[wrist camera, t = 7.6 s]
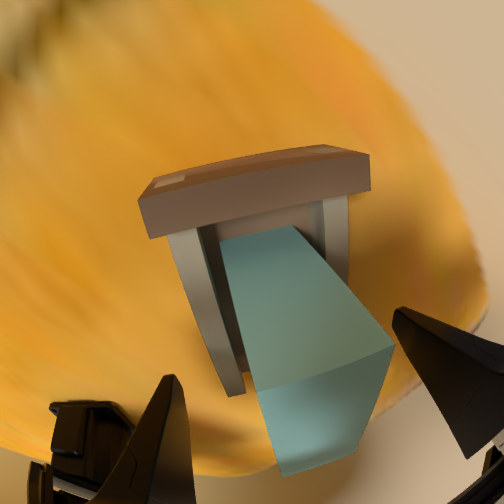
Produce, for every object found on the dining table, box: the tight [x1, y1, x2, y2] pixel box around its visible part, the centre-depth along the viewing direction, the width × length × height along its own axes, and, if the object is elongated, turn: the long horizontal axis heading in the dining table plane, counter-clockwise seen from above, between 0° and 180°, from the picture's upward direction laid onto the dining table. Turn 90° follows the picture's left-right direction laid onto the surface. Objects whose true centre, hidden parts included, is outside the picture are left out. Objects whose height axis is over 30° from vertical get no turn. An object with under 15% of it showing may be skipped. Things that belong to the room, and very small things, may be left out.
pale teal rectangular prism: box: [219, 225, 395, 477], centre depth 9 cm, size 7×3×7 cm, turn 10°
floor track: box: [137, 144, 371, 397], centre depth 11 cm, size 11×7×3 cm, turn 10°
